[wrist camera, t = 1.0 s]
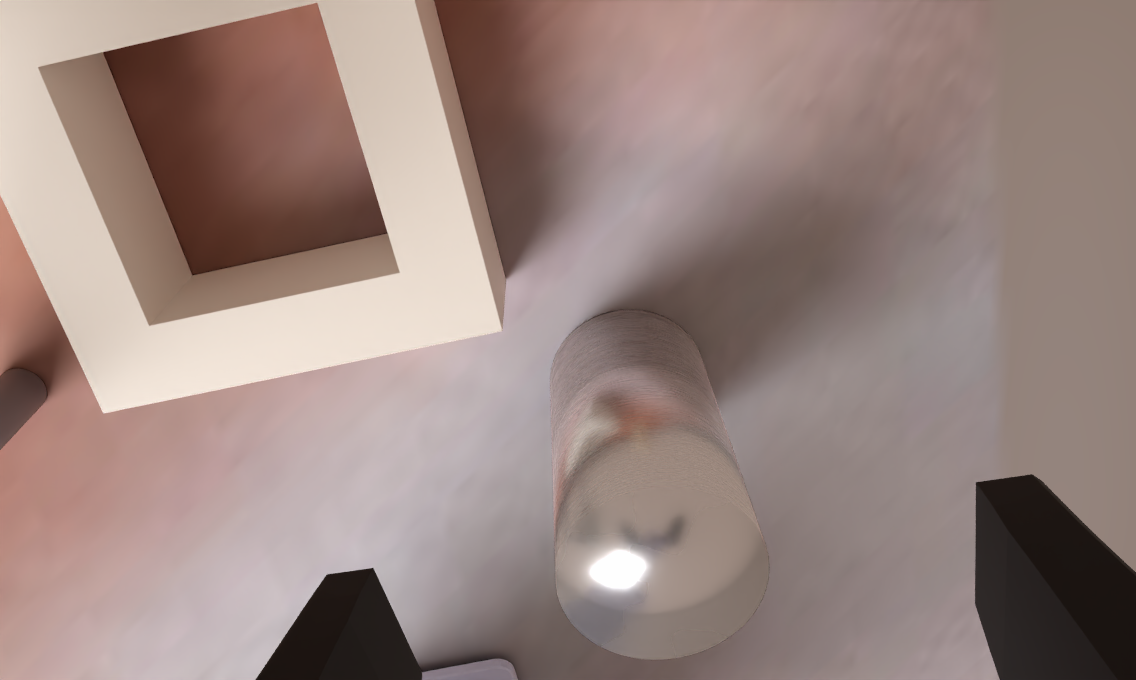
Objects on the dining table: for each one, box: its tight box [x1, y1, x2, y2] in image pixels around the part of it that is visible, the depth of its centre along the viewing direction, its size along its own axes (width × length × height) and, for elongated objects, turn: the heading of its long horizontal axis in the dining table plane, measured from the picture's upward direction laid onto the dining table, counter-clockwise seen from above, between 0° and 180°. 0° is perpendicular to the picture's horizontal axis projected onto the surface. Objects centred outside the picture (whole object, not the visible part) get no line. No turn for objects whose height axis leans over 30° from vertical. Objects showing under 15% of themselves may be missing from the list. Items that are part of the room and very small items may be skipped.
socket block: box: [0, 0, 506, 413], centre depth 22 cm, size 9×9×3 cm
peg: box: [550, 310, 769, 660], centre depth 22 cm, size 4×4×8 cm
